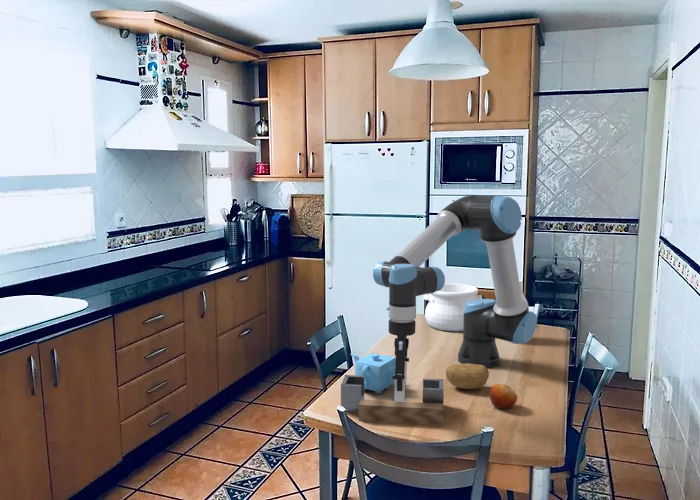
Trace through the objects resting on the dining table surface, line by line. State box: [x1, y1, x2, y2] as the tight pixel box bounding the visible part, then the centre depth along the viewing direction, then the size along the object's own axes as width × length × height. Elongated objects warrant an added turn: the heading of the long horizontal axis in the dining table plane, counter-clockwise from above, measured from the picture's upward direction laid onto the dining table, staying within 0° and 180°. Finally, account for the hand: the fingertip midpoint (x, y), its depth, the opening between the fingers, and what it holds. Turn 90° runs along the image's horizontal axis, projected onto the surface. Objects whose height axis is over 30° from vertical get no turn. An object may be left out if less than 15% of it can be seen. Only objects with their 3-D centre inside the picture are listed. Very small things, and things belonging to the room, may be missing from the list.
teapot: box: [350, 352, 396, 395], centre depth 195 cm, size 16×18×11 cm
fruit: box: [489, 383, 518, 410], centre depth 179 cm, size 8×8×8 cm
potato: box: [444, 363, 490, 390], centre depth 194 cm, size 10×14×8 cm
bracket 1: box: [340, 374, 365, 413], centre depth 180 cm, size 6×9×8 cm, turn 172°
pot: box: [423, 282, 483, 332], centre depth 269 cm, size 26×24×18 cm
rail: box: [358, 398, 445, 426], centre depth 170 cm, size 24×4×5 cm, turn 82°
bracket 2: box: [422, 378, 445, 404], centre depth 177 cm, size 6×9×8 cm, turn 172°
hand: (400, 392), depth 169 cm, fingers open, 13 cm apart
